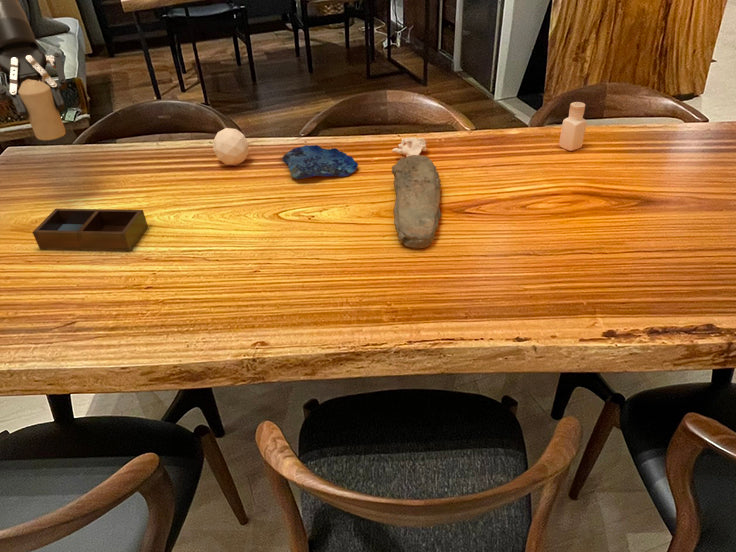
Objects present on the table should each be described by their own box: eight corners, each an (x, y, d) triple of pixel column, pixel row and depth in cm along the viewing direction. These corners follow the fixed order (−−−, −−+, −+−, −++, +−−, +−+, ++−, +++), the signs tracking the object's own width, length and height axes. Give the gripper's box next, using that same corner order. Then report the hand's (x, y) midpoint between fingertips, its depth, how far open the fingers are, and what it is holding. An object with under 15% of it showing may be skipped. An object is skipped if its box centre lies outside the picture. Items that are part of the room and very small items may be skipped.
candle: (72, 131, 122) (53, 77, 115) (51, 142, 118) (30, 87, 112) (51, 128, 124) (31, 74, 117) (29, 138, 120) (8, 83, 113)
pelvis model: (402, 130, 142) (430, 131, 140) (404, 148, 145) (431, 149, 143) (390, 143, 137) (419, 144, 134) (392, 162, 139) (420, 163, 137)
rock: (295, 185, 131) (294, 176, 129) (277, 156, 143) (276, 147, 142) (361, 174, 134) (361, 166, 133) (338, 147, 146) (337, 138, 145)
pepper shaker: (569, 142, 144) (577, 99, 137) (582, 147, 141) (591, 104, 135) (557, 146, 142) (564, 103, 136) (570, 152, 140) (578, 108, 133)
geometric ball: (242, 176, 142) (243, 157, 134) (208, 164, 140) (207, 144, 133) (253, 149, 144) (254, 128, 136) (219, 136, 142) (218, 115, 135)
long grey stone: (387, 256, 111) (442, 259, 111) (388, 231, 108) (445, 233, 108) (392, 164, 136) (437, 166, 136) (393, 141, 132) (440, 143, 132)
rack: (39, 249, 115) (32, 232, 112) (62, 225, 121) (55, 208, 119) (130, 251, 113) (124, 233, 111) (148, 226, 120) (143, 209, 117)
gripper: (-40, 22, 110) (-3, 110, 111) (46, 10, 115) (81, 95, 116) (-28, 47, 117) (6, 131, 118) (51, 35, 122) (84, 115, 123)
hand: (43, 113), depth 117 cm, fingers closed on candle, 5 cm apart
